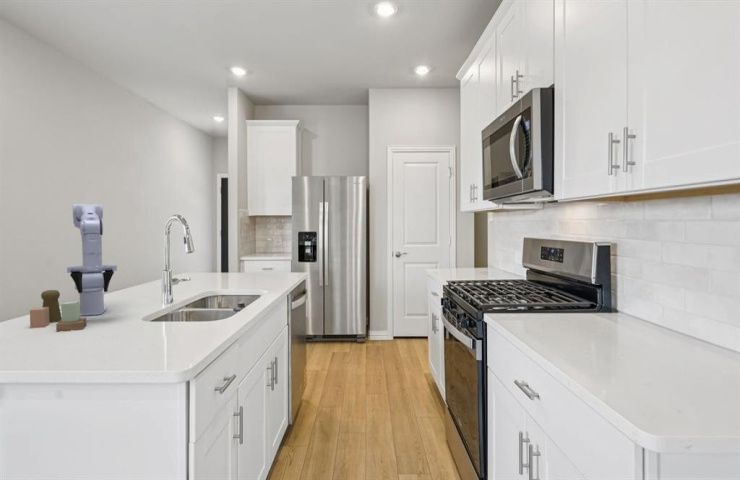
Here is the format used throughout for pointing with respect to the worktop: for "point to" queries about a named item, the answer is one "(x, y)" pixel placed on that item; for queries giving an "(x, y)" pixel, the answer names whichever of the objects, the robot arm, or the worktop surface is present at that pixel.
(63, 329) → the walnut board
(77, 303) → the sage block
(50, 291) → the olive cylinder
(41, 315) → the terracotta block
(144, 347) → the worktop surface
